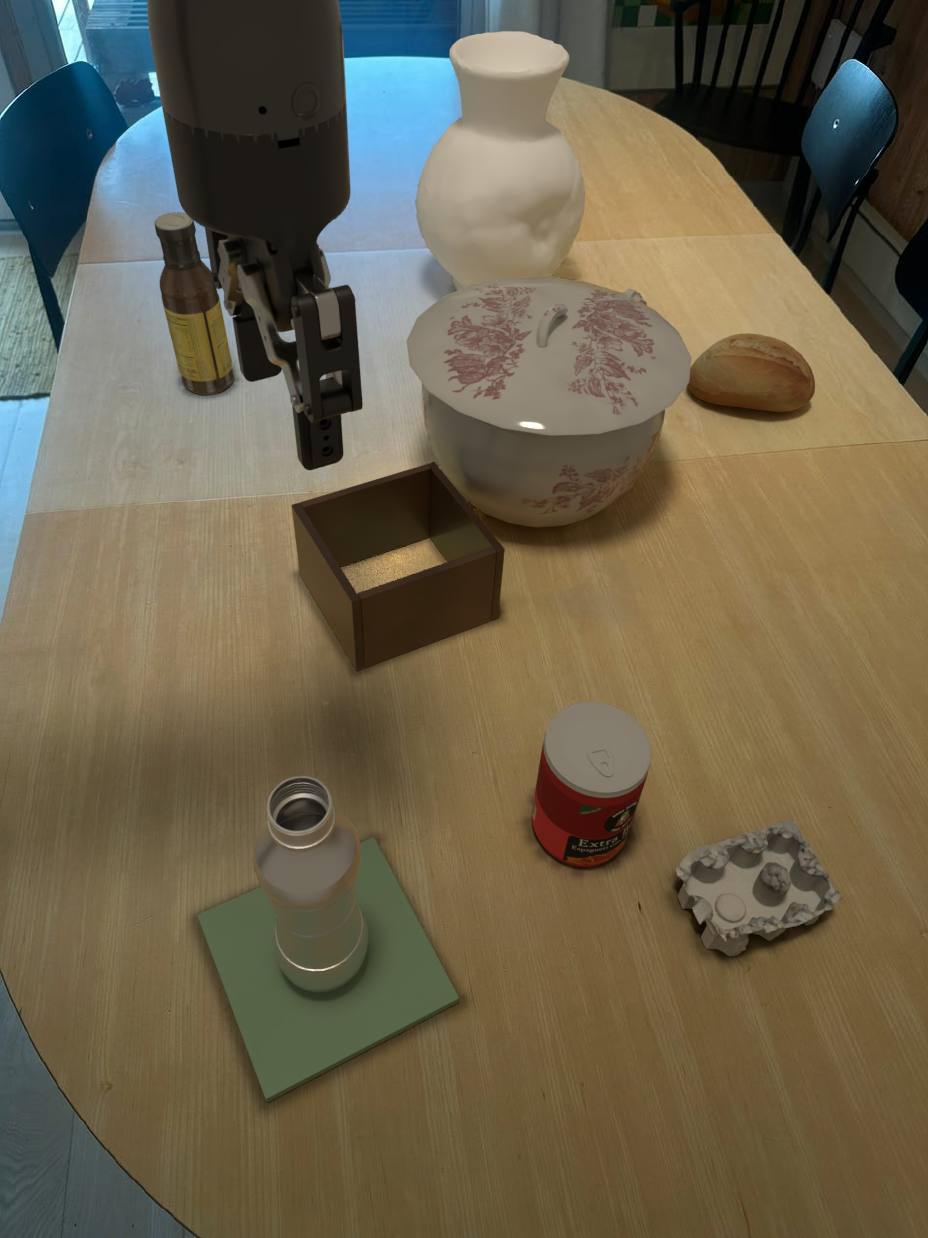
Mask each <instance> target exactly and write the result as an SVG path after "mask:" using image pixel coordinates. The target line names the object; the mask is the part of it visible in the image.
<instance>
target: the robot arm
mask: <svg viewBox="0 0 928 1238" xmlns="http://www.w3.org/2000/svg"><path fill="white" fill-rule="evenodd" d="M146 5H147V6H146V9H147V24H148V34H149V39H150V46H151V54H152V57H153V58H152V59H153V63H154V68H155V69H154V70H155V74H156V75H155V76H156V79H157V85H158V86H157V87H158V91H159V97H160V102H161V108H162V114H163V120H164V124H165V131H166V137H167V142H168V148H169V154H170V158H171V164H172V170H173V176H174V181H175V187H176V192H177V198H178V202H179V204H180V207H181V208H182V211H184V213H186V214H187V215H188V216H189V217H190V218H191V219H192V220H194V223H196V224H197V225H199V226H201V227H203V228H204V231H205V238H206V245H207V251H208V252H207V253H208V258H209V266H210V270H211V279H212V282H213V283H214V284H215V286H216V288H217V290H222V291H223V300H222V301H223V307H224V309H225V311H227V313H228V315H229V317H231V319H232V325H233V331H234V339H235V344H236V351H237V352H236V353H237V360H238V364H239V371H240V373H241V375H242V376H243V378H244V379H245V380H246V381H247V382H251V383H254V382H258V381H262V380H265V379H270V378H275V377H277V376H279V375H280V374H281V372H282V373H283V376H284V380H285V383H286V386H287V389H288V393H289V401H290V404H291V409H292V417H293V418H292V419H293V427H294V437H295V444H296V454H297V460H298V461H299V462H300V464H301V466H302V467H303V468H304V469H305V470H306V471H314V470H317V469H321V468H324V467H327V466H331V465H334V464H337V463H339V462H340V461H341V460H342V459H343V457H344V440H343V438H344V437H343V426H342V424H343V423H342V415H344V414H348V413H354V412H357V411H361V410H362V409H363V404H364V403H363V391H362V390H363V389H362V376H361V375H362V374H361V363H360V348H359V337H358V336H359V335H358V321H357V307H356V296H355V294H354V293H353V290H352V288H351V287H350V285H349V284H343V285H338V286H333V287H329V286H330V283H331V279H332V275H331V271H330V269H329V264H328V261H327V258H326V255H325V252H324V251H323V249H322V248H320V245H319V244H318V238H319V237H320V234H321V233H322V232H323V230H324V229H325V228H327V226H328V225H329V224H331V223H332V222H333V221H334V220H336V219H338V217H340V216H341V215H342V213H344V211H345V210H346V208H347V206H348V204H349V202H350V198H351V192H352V191H351V170H350V151H349V149H350V148H349V129H348V108H347V106H348V105H347V90H346V89H347V88H346V86H347V85H346V68H345V67H346V65H345V63H346V62H345V45H344V34H343V33H344V30H343V23H342V15H341V10H340V9H341V8H340V3H339V0H146ZM289 331H294V334H295V340H294V341H286V340H284V339H283V338H282V337H281V336H280V334H279V333H285V332H289ZM323 376H325V378H323V379H321V378H322V377H323Z"/></svg>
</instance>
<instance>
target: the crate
mask: <svg viewBox="0 0 928 1238" xmlns="http://www.w3.org/2000/svg"><path fill="white" fill-rule="evenodd" d="M291 513H292V522H293V530H294V537H295V546H296V555H297V562H298V563H297V564H298V570H299V577H300V578H301V580H302V582H303V583H304V585H305V587H306V588H307V590H308V591H309V593H310V595H311V596H312V598H313V600H314V601H315V603H316V605H317V606H318V608H319V610H320V612H321V613H322V615H323V617H324V618H325V620H326V623H328V625H329V627H330V629H331V630H332V632H333V634H334V635H335V637H336V639H337V640H338V642H339V644H340V646H341V647H342V649H343V651H344V652H345V654H346V656H347V657H348V659H349V661H350V662H351V664H352V666H353V668H354V669H355V671H356V672H358V671H361V670H363V669H366V668H370V667H371V666H374V665H377V664H379V663H382V662H385V661H388V660H390V659H393V658H396V657H398V656H400V655H404V654H406V653H409V652H412V651H413V650H416V649H420V648H422V647H424V646H427V645H431V644H433V643H436V642H438V641H440V640H444V639H447V638H449V637H451V636H454V635H456V634H459V633H462V632H464V631H468V630H470V629H473V628H475V627H478V626H481V625H484V624H487V623H489V622H492V621H495V620H497V619H499V613H500V602H501V593H502V592H501V590H502V583H503V582H502V581H503V570H504V563H505V562H504V561H505V552H506V551H505V550H506V549H505V547H504V546H503V545H502V543H500V541H499V540H498V538H496V537H495V535H494V534H493V533H492V531H491V530H490V529H489V528H488V527H487V525H486V523H484V521H483V520H482V519H481V517H479V515H478V514H477V513H476V511H475V510H474V509H473V508H472V507H471V504H470V503H469V502H468V501H467V500H465V499H464V498H463V497H462V495H461V494H460V493H459V492H458V490H457V489H456V488H455V487H454V485H453V484H452V483H451V482H450V480H449V479H448V478H447V477H446V475H445V474H444V473H443V472H442V470H441V469H440V467H439V466H438V464H437V463H436V461H432V462H428V463H426V464H421V465H418V466H416V467H412V468H408V469H405V470H402V471H399V472H396V473H391V474H389V475H386V476H382V477H378V478H376V479H373V480H369V481H366V482H362V483H359V484H356V485H353V486H349V487H345V488H343V489H339V490H335V491H332V492H330V493H326V494H323V495H319V496H316V497H313V498H309V499H306V500H303V501H300V502H296V503H293V504H291ZM428 539H430V540H431V542H432V543H433V544H434V546H435V547H436V549H437V550H438V551H439V552H440V554H441V555H442V556H443V558H444V560H445V561H446V562H443V563H441V564H438V565H435V566H432V567H429V568H426V569H424V570H420V571H418V572H414V573H412V574H409V575H405V576H403V577H400V578H397V579H395V580H391V581H388V582H386V583H385V582H384V583H383V584H382V583H381V584H380V585H377V586H374V587H371V588H368V589H365V590H362V591H359V592H356V590H355V588H354V587H353V585H352V583H351V582H350V581H349V579H348V578H347V577H348V576H347V575H346V573H345V572H344V571H343V569H342V567H346V566H348V565H352V564H354V563H358V562H360V561H363V560H366V559H369V558H373V557H375V556H378V555H381V554H385V553H387V552H391V551H393V550H397V549H399V548H402V547H405V546H408V545H411V544H415V543H417V542H421V541H423V540H428Z"/></svg>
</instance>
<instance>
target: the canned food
mask: <svg viewBox="0 0 928 1238" xmlns="http://www.w3.org/2000/svg"><path fill="white" fill-rule="evenodd" d="M651 760H652V748H651V743H650V740H649V738H648V735H647V733H646V731H645V729H644V728H643V727H642V725H641V724H640V723H639V722H638V720H636V719H635V718H634V717H633V716H632V715H630V713H628V712H627V711H624V710H623V709H621V708H619V707H617V706H614V705H613V704H612V705H611V704H609V703H605V702H600V701H583V702H581V701H580V702H577V703H573V704H569V705H568V706H566V707H564V708H562V709H561V710H559V711H557V712H556V714H555V715H554V716H553V717H552V719H551V720H550V721H549V723H548V725H547V727H546V730H545V733H544V736H543V742H542V747H541V753H540V759H539V765H538V770H537V778H536V782H535V783H536V784H535V789H534V796H533V801H532V808H531V822H532V823H531V824H532V827H533V829H534V833H535V835H536V837H537V839H538V841H539V843H540V844H541V846H542V847H543V848H544V850H545V851H546V852H548V853H549V855H551V856H552V857H554V858H555V859H556V860H558V861H560V862H562V863H564V864H566V865H569V866H574V867H579V868H591V867H595V866H599V865H602V864H605V863H606V862H608V861H610V860H611V859H612V858H614V857H615V856H616V855H617V854H618V853H619V852H620V851H621V850H622V848H623V847H624V845H625V843H626V842H627V838H628V836H629V832H630V829H631V827H632V824H633V820H634V817H635V814H636V811H637V808H638V806H639V803H640V799H641V797H642V794H643V790H644V787H645V784H646V781H647V778H648V774H649V770H650V767H651Z"/></svg>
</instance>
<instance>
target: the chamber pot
mask: <svg viewBox="0 0 928 1238" xmlns="http://www.w3.org/2000/svg"><path fill="white" fill-rule="evenodd" d="M647 303H648V302H647V301H646V300H645V298H643V296H642V294H641V292H639V291H637V290H634V289H632V288H628V289H626V290H625V291H623V292H621V291H618V290H614V289H611V288H607V287H605V286H601V285H598V284H594V283H593V282H592V283H591V282H588V281H581V280H574V279H568V278H559V277H552V276H550V277H508V278H503V279H498V280H493V281H487V282H482V283H477V284H472V285H469V286H467V287H465V288H462V289H460V290H455V291H453V292H450V293H448V294H446V295H443V296H442V297H440V298H439V299H437V301H435V302H434V303H432V305H430V306H429V307H428V308H426V310H424V311H423V312H422V313H421V314H420V315H419V316H417V318H416V319H415V321H414V324H413V326H412V328H411V330H410V332H409V335H408V336H407V338H406V347H407V354H408V362H409V368H411V370H412V371H413V372H414V374H415V375H416V377H417V378H418V380H419V381H420V383H421V409H422V417H423V424H424V429H425V433H426V439H427V442H428V446H429V451H430V454H431V457H432V459H433V460H434V462H435V463H436V464H437V465H438V467H439V468H440V469H441V470H442V472H443V473H444V474H445V475H446V477H447V478H448V479H449V480H450V482H451V483H452V484H453V485H454V487H455V488H456V489H457V490H458V492H459V493H460V494H461V495H462V497H463V498H464V499H465V500H466V502H467V503H468V504H470V505H472V506H473V507H474V508H476V509H477V510H478V511H480V512H481V513H483V514H485V515H487V516H490V517H492V518H494V519H497V520H500V521H501V522H504V523H507V524H510V525H511V524H512V525H516V526H522V527H528V528H529V527H530V528H535V529H537V528H555V527H563V526H566V525H570V524H574V523H577V522H580V521H584V520H588V519H590V518H591V517H593V516H595V515H596V514H597V513H598V514H599V513H600V512H601V511H603V510H605V508H607V507H608V506H610V505H611V504H613V503H614V502H615V501H616V500H617V499H619V498H620V497H622V496H623V495H624V494H625V493H627V492H628V491H629V490H630V489H632V487H633V486H634V485H635V484H636V482H637V480H638V479H639V478H640V477H641V475H642V474H643V472H644V471H645V469H646V468H647V466H648V464H649V462H650V460H651V458H652V456H653V454H654V453H655V450H656V449H657V448H656V447H657V446H658V444H659V442H660V439H661V435H662V430H663V425H664V422H665V417H666V416H665V415H666V409H668V408H670V407H672V406H673V405H674V404H675V402H676V401H677V399H678V398H679V397H680V396H681V394H682V393H683V392H684V390H685V389H686V388H687V387H688V383H689V379H690V368H691V366H692V355H691V354H690V351H689V350H688V348H687V346H686V343H685V341H684V340H683V338H682V335H681V333H680V332H679V330H677V329H676V328H675V326H674V325H672V324H671V323H670V322H669V321H668V320H666V319H665V317H663V315H661V314H660V313H659V311H657V310H656V309H654V308H653V307H650V306H648V304H647Z"/></svg>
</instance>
